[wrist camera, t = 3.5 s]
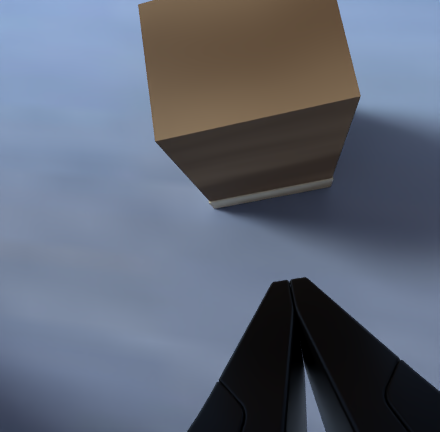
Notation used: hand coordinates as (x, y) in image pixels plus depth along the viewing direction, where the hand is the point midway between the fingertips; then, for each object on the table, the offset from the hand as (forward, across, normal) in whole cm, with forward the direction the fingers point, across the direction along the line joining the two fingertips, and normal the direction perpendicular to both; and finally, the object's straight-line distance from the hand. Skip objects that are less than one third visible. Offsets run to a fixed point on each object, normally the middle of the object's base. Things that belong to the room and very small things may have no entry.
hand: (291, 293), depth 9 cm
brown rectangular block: (+9, 0, -1) cm, 9 cm away
